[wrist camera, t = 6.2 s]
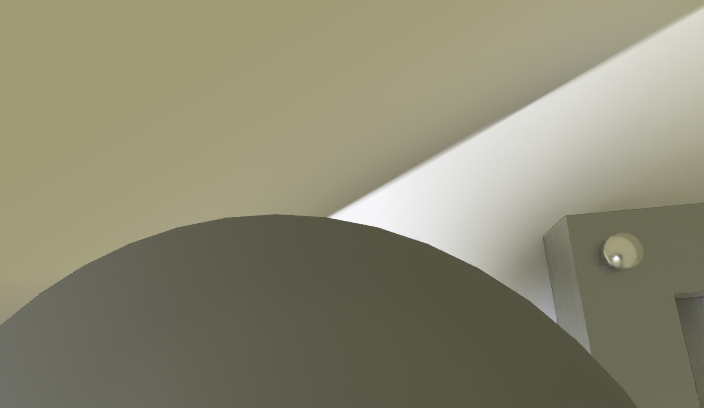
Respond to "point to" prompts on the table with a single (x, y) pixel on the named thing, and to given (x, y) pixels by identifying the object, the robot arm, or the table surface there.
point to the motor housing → (631, 294)
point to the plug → (291, 327)
